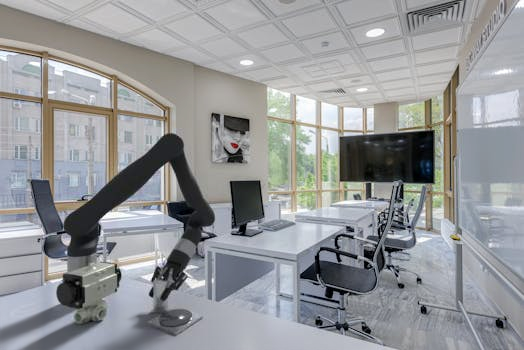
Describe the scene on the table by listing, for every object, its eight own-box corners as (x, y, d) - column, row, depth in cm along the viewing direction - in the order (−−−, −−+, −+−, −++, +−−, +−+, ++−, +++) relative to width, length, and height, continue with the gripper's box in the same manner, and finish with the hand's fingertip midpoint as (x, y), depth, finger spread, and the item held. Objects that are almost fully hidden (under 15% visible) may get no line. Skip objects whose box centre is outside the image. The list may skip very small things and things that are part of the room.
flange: (147, 324, 92) (147, 320, 92) (175, 308, 102) (175, 304, 102) (175, 335, 86) (175, 330, 86) (203, 317, 97) (203, 312, 97)
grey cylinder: (150, 310, 101) (150, 281, 101) (161, 305, 105) (161, 277, 105) (160, 314, 98) (160, 284, 98) (171, 308, 103) (171, 279, 103)
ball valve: (76, 336, 85) (75, 274, 85) (55, 330, 88) (55, 270, 88) (125, 308, 102) (125, 257, 102) (106, 304, 105) (106, 254, 105)
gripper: (162, 245, 111) (135, 289, 101) (191, 251, 105) (165, 298, 94) (173, 256, 116) (147, 298, 106) (201, 262, 109) (177, 307, 99)
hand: (156, 298), depth 100 cm, fingers closed on grey cylinder, 4 cm apart
